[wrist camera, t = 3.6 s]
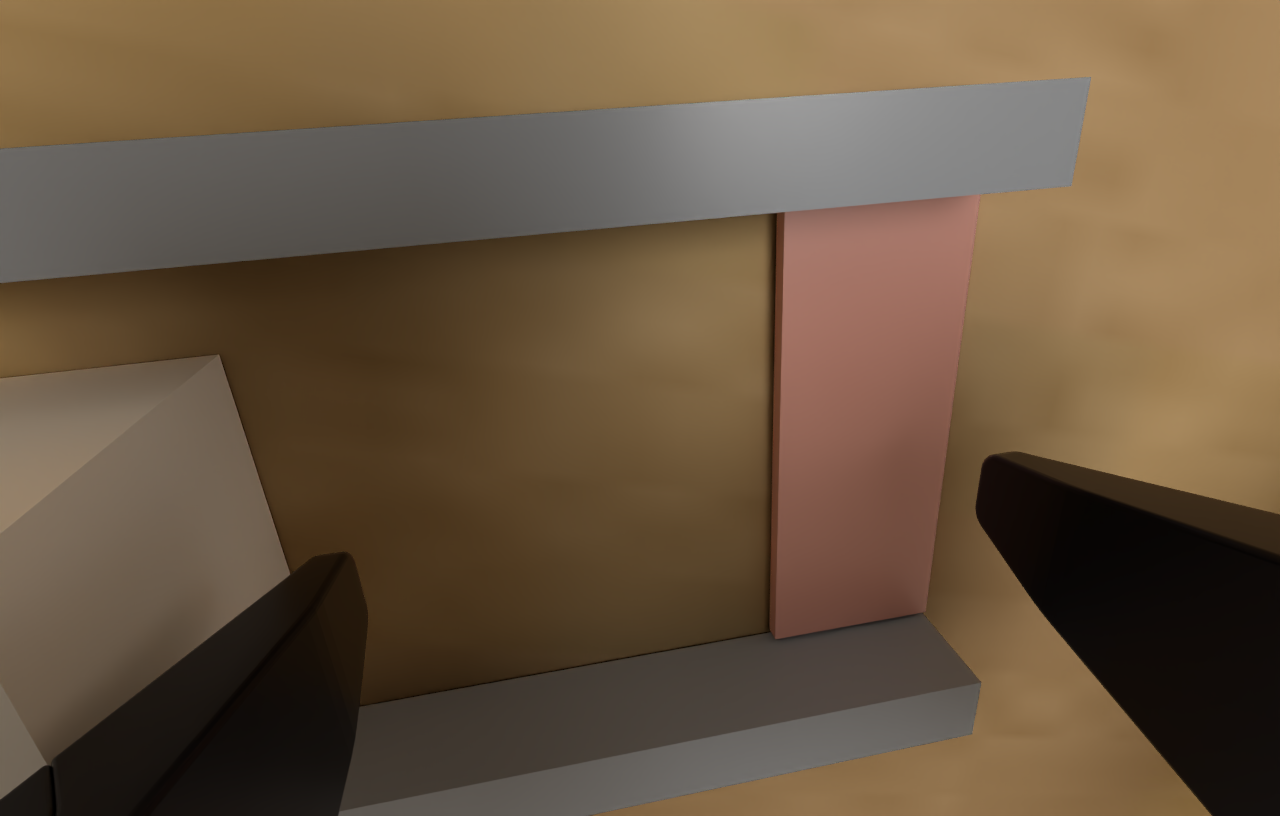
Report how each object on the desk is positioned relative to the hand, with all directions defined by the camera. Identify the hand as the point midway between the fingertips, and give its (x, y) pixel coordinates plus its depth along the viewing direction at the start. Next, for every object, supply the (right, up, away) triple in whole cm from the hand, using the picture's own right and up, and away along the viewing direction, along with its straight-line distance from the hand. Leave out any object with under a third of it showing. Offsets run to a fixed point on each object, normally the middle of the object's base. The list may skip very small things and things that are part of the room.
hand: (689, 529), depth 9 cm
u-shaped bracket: (-2, +1, +2) cm, 3 cm away
